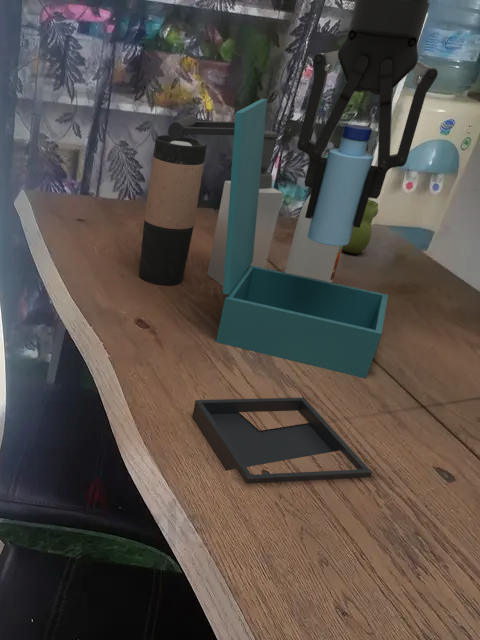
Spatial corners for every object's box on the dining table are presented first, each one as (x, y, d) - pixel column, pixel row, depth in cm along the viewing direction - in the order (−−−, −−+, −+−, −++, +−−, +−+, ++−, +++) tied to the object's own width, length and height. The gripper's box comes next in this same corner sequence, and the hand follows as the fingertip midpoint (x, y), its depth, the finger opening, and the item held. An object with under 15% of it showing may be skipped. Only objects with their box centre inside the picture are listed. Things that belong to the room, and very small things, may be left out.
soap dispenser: (234, 268, 125) (265, 125, 112) (260, 287, 119) (296, 137, 106) (200, 269, 123) (227, 123, 110) (225, 288, 117) (257, 135, 104)
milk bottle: (319, 303, 116) (358, 166, 104) (273, 289, 119) (307, 154, 107) (334, 291, 121) (373, 159, 109) (290, 278, 124) (324, 149, 112)
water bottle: (357, 245, 92) (391, 131, 84) (324, 246, 90) (355, 130, 82) (331, 232, 96) (361, 123, 88) (298, 234, 94) (326, 121, 86)
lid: (267, 98, 94) (192, 98, 97) (242, 112, 82) (158, 111, 85) (252, 261, 105) (186, 256, 108) (228, 294, 93) (154, 288, 96)
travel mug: (130, 279, 116) (148, 139, 104) (145, 265, 122) (164, 132, 110) (176, 289, 114) (200, 149, 102) (189, 275, 120) (213, 141, 108)
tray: (365, 489, 73) (372, 472, 72) (243, 496, 70) (248, 478, 69) (299, 413, 85) (304, 397, 84) (191, 416, 82) (195, 399, 80)
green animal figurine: (330, 250, 140) (346, 194, 134) (346, 246, 143) (362, 192, 137) (355, 259, 137) (372, 202, 131) (370, 255, 140) (388, 200, 134)
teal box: (372, 340, 105) (388, 294, 101) (364, 384, 93) (381, 333, 89) (239, 310, 110) (249, 264, 106) (214, 347, 98) (225, 297, 94)
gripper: (303, -19, 77) (255, 213, 91) (488, 1, 73) (408, 241, 86) (313, -17, 83) (266, 201, 96) (484, 2, 78) (409, 227, 92)
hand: (333, 219), depth 91 cm, fingers closed on water bottle, 5 cm apart
